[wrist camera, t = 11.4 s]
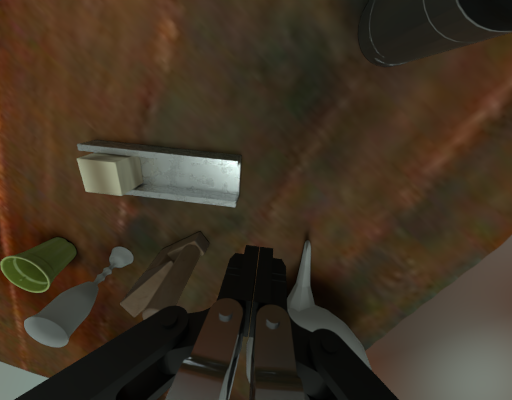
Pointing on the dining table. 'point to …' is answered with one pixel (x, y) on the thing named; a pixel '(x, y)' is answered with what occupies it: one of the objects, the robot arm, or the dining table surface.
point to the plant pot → (38, 264)
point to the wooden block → (165, 277)
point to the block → (110, 173)
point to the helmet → (312, 312)
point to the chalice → (71, 306)
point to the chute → (179, 172)
